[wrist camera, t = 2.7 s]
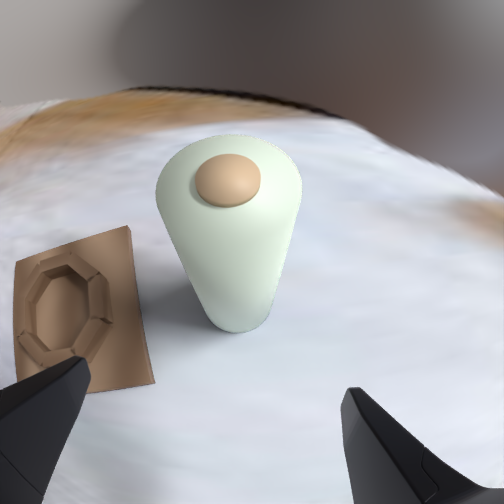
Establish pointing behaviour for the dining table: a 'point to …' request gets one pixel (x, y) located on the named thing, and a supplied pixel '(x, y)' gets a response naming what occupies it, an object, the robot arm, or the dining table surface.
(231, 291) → the paper roll
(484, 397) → the dining table surface
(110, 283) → the holder
